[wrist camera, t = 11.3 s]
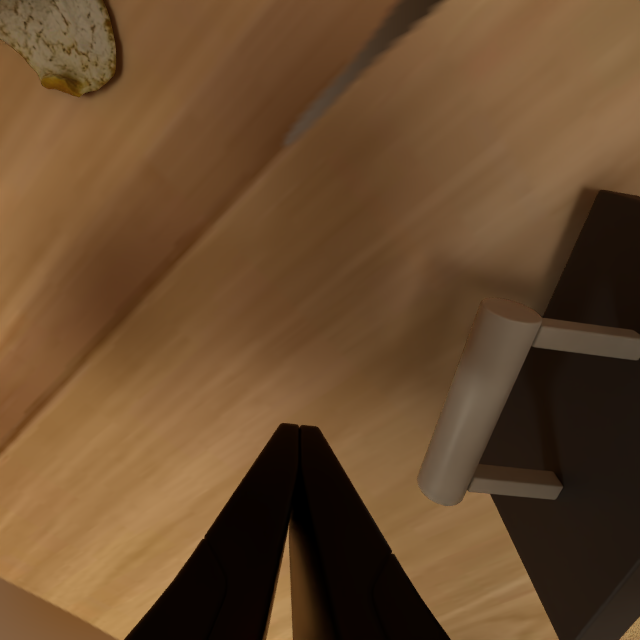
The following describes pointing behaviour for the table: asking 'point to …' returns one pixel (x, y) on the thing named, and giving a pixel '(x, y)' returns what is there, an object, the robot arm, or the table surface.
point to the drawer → (559, 428)
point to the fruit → (62, 41)
